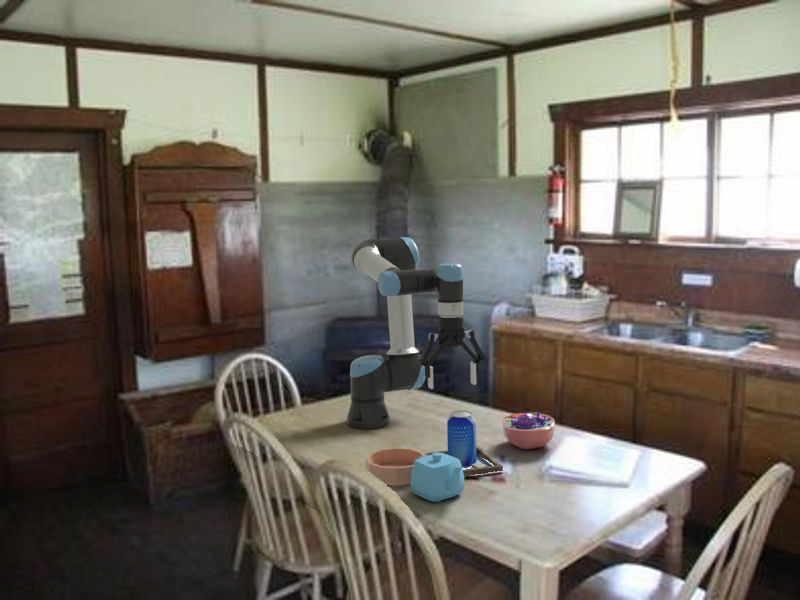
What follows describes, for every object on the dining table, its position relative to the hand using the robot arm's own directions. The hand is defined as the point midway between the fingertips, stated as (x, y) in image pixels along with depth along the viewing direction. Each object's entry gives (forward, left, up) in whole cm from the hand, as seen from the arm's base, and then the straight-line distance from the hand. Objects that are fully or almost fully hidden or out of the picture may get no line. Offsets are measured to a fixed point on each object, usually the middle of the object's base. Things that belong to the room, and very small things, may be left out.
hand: (452, 386), depth 230 cm
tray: (+8, 0, -22) cm, 24 cm away
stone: (+14, +3, -23) cm, 27 cm away
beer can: (+8, 0, -23) cm, 24 cm away
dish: (+8, -20, -22) cm, 31 cm away
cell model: (-2, +26, -23) cm, 34 cm away
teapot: (+27, -13, -23) cm, 38 cm away
